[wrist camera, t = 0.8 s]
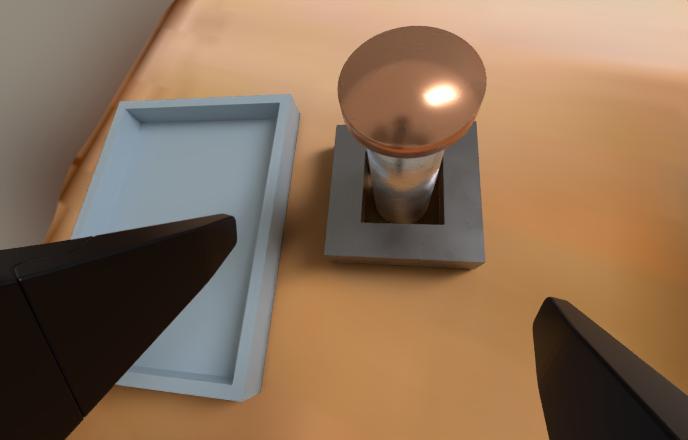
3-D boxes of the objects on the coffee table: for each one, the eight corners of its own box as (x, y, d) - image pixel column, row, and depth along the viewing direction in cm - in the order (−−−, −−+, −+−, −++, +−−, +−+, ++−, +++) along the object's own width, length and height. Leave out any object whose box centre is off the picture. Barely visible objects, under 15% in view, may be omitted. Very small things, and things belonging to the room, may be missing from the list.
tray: (260, 392, 21) (242, 402, 18) (61, 367, 23) (22, 372, 21) (300, 114, 27) (290, 93, 25) (142, 119, 30) (120, 101, 27)
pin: (440, 236, 22) (491, 143, 11) (362, 234, 23) (331, 145, 11) (439, 166, 24) (481, 20, 12) (366, 166, 25) (343, 31, 13)
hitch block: (475, 269, 21) (485, 262, 19) (331, 261, 23) (323, 254, 20) (468, 141, 24) (476, 121, 22) (341, 143, 26) (336, 125, 23)
